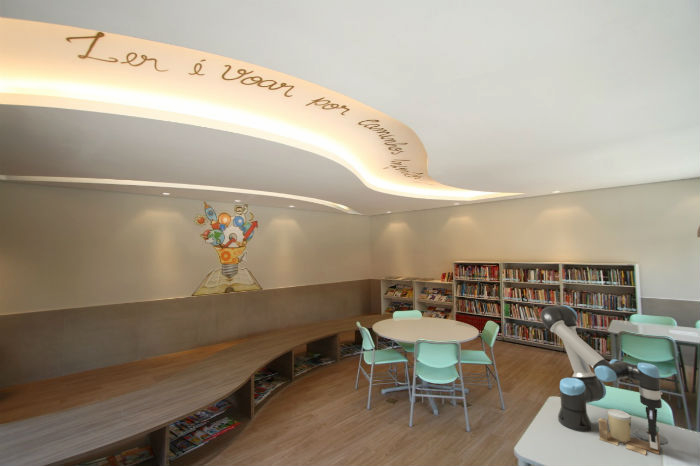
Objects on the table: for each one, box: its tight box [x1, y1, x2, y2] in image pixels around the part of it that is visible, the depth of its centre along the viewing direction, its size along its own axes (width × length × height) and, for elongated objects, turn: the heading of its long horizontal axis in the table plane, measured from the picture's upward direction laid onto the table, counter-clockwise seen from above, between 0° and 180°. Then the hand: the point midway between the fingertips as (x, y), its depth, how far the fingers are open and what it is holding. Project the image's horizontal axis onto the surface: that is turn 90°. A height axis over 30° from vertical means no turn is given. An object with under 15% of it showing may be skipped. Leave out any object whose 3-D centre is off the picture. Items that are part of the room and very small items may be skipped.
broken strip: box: [598, 417, 647, 456], centre depth 150 cm, size 17×4×10 cm, turn 44°
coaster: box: [634, 428, 668, 445], centre depth 157 cm, size 12×12×1 cm
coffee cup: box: [606, 408, 632, 442], centre depth 156 cm, size 9×9×12 cm
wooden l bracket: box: [608, 426, 661, 455], centre depth 153 cm, size 19×8×10 cm, turn 44°
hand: (654, 446), depth 147 cm, fingers closed on wooden l bracket, 3 cm apart
